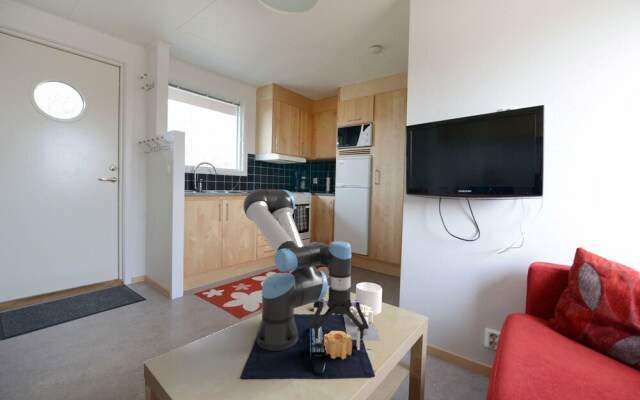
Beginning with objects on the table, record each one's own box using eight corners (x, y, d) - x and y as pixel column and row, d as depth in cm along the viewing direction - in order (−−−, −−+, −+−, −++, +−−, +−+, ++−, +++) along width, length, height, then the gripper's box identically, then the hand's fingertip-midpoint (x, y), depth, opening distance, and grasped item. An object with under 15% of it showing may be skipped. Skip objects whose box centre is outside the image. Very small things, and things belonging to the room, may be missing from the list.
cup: (379, 307, 129) (380, 283, 129) (382, 319, 118) (383, 292, 117) (354, 305, 130) (355, 281, 130) (355, 317, 119) (356, 290, 118)
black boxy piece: (320, 303, 134) (320, 294, 133) (332, 307, 129) (333, 297, 129) (304, 312, 123) (305, 302, 123) (317, 317, 119) (318, 306, 119)
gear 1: (324, 358, 89) (324, 344, 89) (323, 342, 99) (324, 328, 99) (352, 359, 89) (353, 344, 89) (349, 342, 99) (350, 329, 99)
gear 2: (350, 325, 108) (351, 313, 108) (348, 314, 118) (348, 303, 118) (374, 326, 108) (375, 313, 108) (370, 314, 118) (370, 303, 118)
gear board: (347, 343, 98) (348, 323, 98) (343, 318, 117) (343, 301, 117) (380, 344, 98) (381, 324, 98) (370, 319, 117) (371, 302, 117)
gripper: (302, 290, 89) (302, 353, 90) (378, 291, 89) (376, 354, 90) (304, 282, 97) (303, 340, 97) (373, 283, 97) (372, 341, 97)
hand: (338, 347), depth 94 cm, fingers open, 13 cm apart
